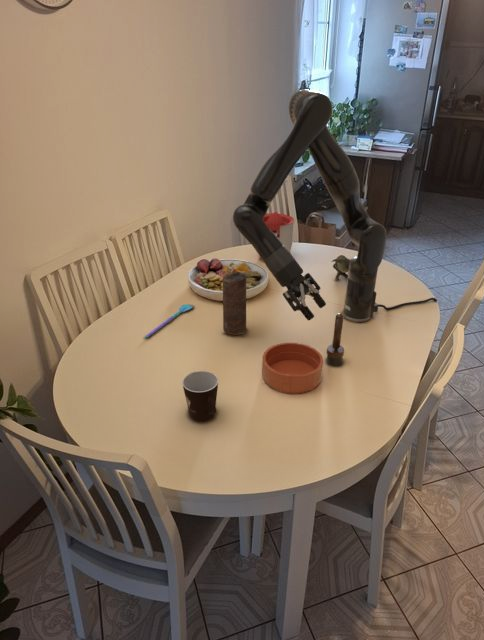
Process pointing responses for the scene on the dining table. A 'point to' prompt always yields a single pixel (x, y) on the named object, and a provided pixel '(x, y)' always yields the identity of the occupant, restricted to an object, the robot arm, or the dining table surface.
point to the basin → (292, 367)
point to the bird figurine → (341, 266)
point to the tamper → (336, 344)
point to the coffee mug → (201, 394)
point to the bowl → (210, 275)
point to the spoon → (181, 309)
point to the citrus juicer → (281, 227)
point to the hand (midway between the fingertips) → (317, 312)
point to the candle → (234, 303)
